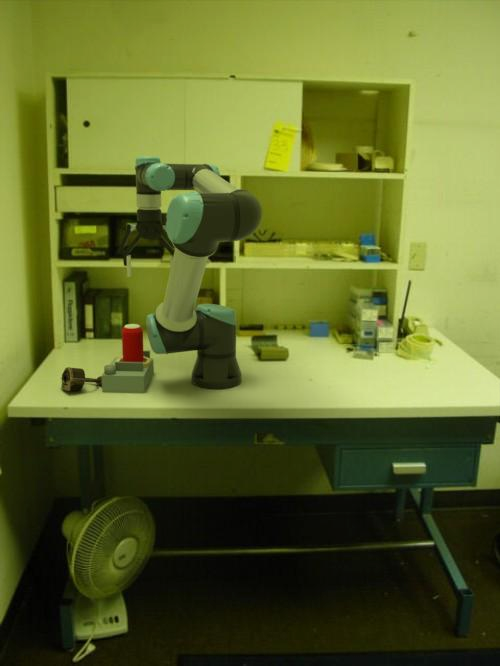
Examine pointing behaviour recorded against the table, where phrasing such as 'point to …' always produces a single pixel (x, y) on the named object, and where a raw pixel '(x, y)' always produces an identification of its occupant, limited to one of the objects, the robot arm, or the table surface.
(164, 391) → the table surface
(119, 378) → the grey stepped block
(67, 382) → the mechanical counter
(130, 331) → the beverage can
